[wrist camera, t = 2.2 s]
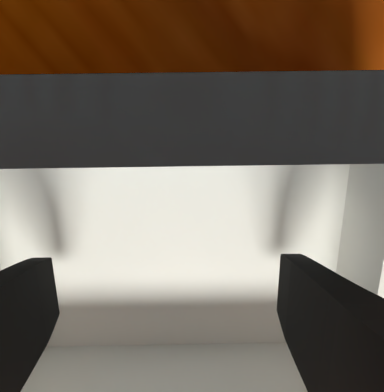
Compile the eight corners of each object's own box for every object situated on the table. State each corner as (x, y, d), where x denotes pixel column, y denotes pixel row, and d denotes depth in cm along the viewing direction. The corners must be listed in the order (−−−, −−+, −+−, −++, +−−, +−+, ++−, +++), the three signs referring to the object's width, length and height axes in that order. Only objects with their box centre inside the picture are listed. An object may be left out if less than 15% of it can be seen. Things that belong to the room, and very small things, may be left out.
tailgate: (375, 132, 10) (536, 161, 6) (-48, 138, 10) (-252, 172, 6) (383, 82, 10) (564, 68, 5) (-58, 88, 10) (-291, 78, 5)
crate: (15, 341, 14) (-49, 430, 10) (-25, 141, 12) (-127, 162, 8) (333, 336, 14) (386, 422, 11) (360, 136, 12) (441, 154, 8)
